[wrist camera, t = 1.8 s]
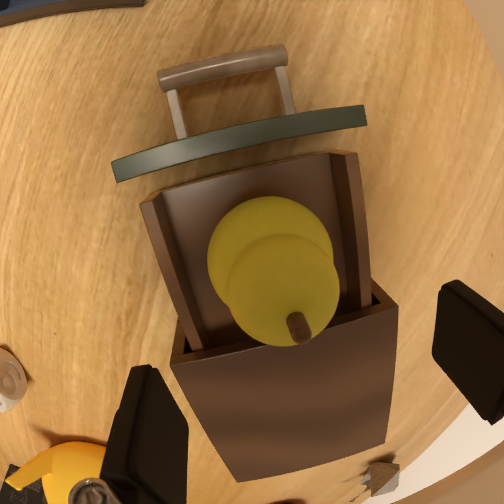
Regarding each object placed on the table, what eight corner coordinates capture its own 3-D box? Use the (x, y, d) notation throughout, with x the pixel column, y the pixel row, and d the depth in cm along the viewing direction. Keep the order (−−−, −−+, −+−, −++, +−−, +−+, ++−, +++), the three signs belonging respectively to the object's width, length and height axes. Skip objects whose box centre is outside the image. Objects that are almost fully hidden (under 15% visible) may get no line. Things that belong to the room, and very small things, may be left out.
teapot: (188, 480, 32) (189, 561, 20) (114, 502, 35) (106, 562, 23) (56, 400, 26) (18, 493, 14) (10, 439, 28) (-16, 501, 17)
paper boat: (402, 473, 37) (358, 507, 36) (380, 449, 41) (336, 483, 40) (421, 481, 28) (365, 524, 26) (395, 451, 31) (339, 494, 30)
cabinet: (177, 316, 23) (169, 365, 18) (363, 269, 24) (398, 305, 18) (233, 439, 29) (237, 482, 24) (365, 404, 30) (384, 443, 24)
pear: (216, 179, 18) (214, 230, 8) (322, 196, 19) (417, 258, 9) (203, 282, 20) (195, 403, 11) (300, 291, 21) (357, 403, 12)
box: (19, 477, 33) (6, 517, 23) (9, 463, 31) (-7, 506, 21) (54, 491, 34) (43, 534, 24) (46, 478, 32) (33, 525, 23)
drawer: (115, 94, 17) (92, 86, 13) (323, 48, 17) (346, 32, 13) (198, 355, 24) (196, 390, 20) (363, 313, 24) (384, 340, 20)
